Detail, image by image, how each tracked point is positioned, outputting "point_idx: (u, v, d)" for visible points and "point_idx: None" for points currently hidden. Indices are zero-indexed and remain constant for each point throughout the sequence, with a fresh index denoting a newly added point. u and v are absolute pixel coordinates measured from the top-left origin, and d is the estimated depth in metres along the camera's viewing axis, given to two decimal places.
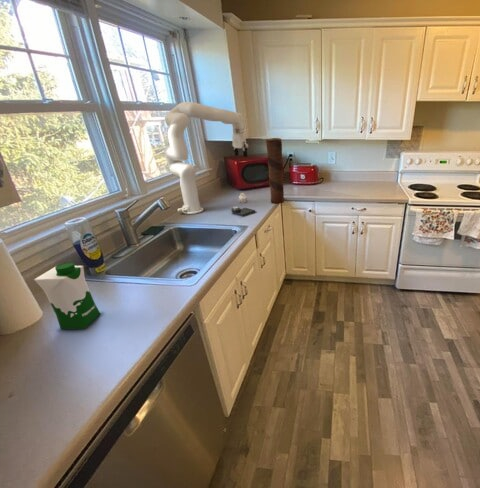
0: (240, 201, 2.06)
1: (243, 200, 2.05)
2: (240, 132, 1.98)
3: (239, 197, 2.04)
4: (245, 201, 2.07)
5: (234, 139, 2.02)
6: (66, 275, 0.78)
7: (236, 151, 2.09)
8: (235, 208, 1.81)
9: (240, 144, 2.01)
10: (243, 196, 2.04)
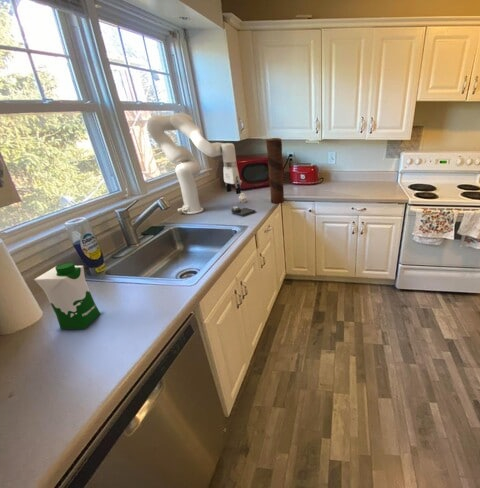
0: (240, 201, 2.06)
1: (243, 200, 2.05)
2: (232, 166, 1.69)
3: (239, 197, 2.04)
4: (245, 201, 2.07)
5: (225, 173, 1.72)
6: (66, 275, 0.78)
7: (228, 187, 1.79)
8: (235, 208, 1.81)
9: (232, 180, 1.71)
10: (243, 196, 2.04)
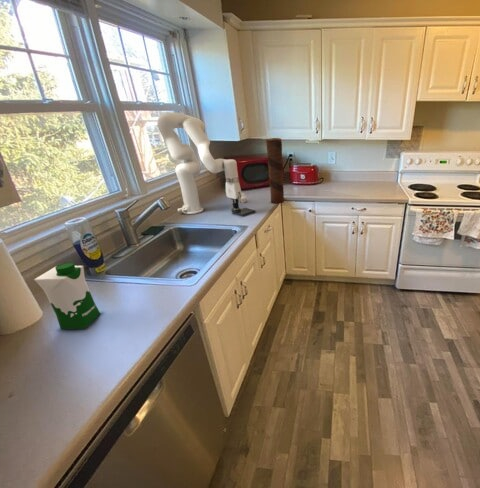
0: (240, 201, 2.06)
1: (243, 200, 2.05)
2: (234, 181, 1.73)
3: None
4: (245, 201, 2.07)
5: (227, 188, 1.76)
6: (66, 275, 0.78)
7: None
8: (235, 209, 1.82)
9: (234, 195, 1.75)
10: (243, 196, 2.04)
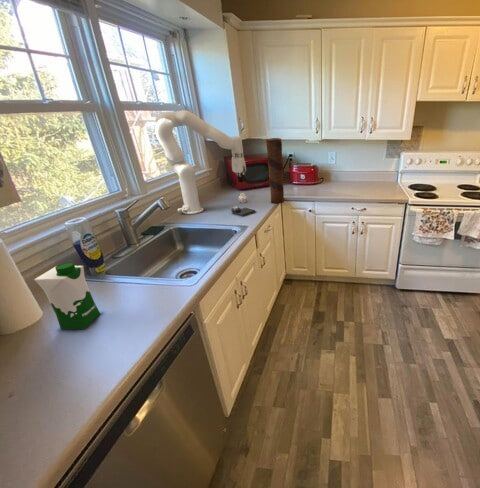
0: (240, 201, 2.06)
1: (243, 200, 2.05)
2: (239, 156, 1.91)
3: (239, 197, 2.04)
4: (245, 201, 2.07)
5: (233, 163, 1.95)
6: (66, 275, 0.78)
7: None
8: (235, 208, 1.81)
9: (240, 169, 1.93)
10: (243, 196, 2.04)
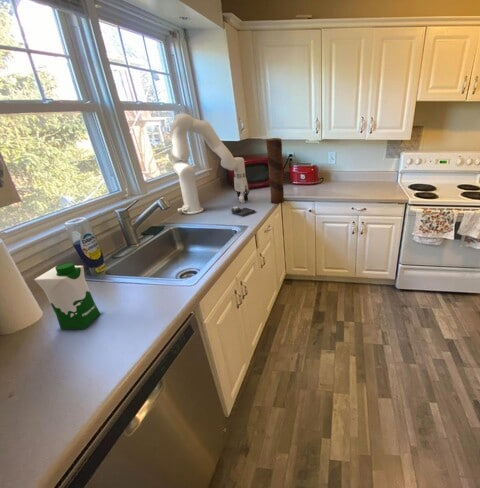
0: (240, 201, 2.06)
1: (243, 200, 2.05)
2: (242, 177, 1.97)
3: (239, 197, 2.04)
4: (245, 201, 2.07)
5: (236, 183, 2.01)
6: (66, 275, 0.78)
7: (239, 195, 2.07)
8: (235, 208, 1.81)
9: (242, 188, 1.99)
10: (243, 196, 2.04)
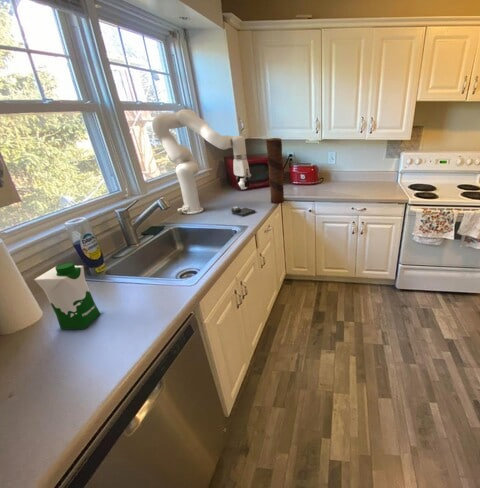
0: (240, 187, 1.80)
1: (244, 186, 1.79)
2: (242, 158, 1.71)
3: (239, 182, 1.78)
4: (246, 187, 1.81)
5: (235, 166, 1.75)
6: (66, 275, 0.78)
7: (239, 180, 1.81)
8: (235, 208, 1.81)
9: (242, 172, 1.73)
10: None
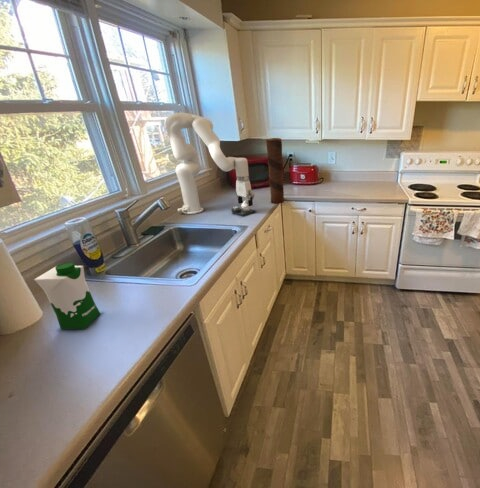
0: (243, 209, 1.83)
1: (246, 208, 1.82)
2: (245, 180, 1.74)
3: (242, 205, 1.82)
4: None
5: (238, 187, 1.77)
6: (66, 275, 0.78)
7: (240, 198, 1.84)
8: (235, 208, 1.81)
9: (245, 193, 1.76)
10: (246, 204, 1.82)
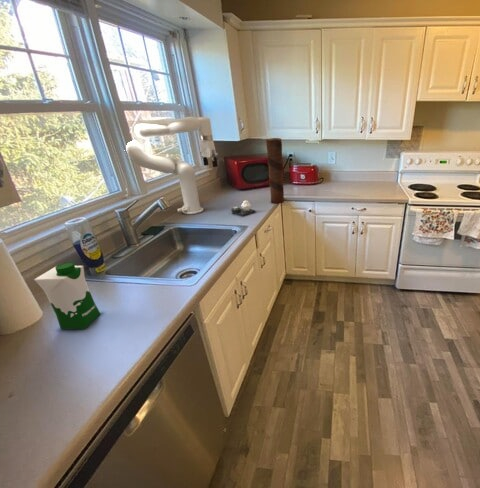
0: (243, 209, 1.84)
1: (246, 208, 1.82)
2: (208, 139, 1.75)
3: (242, 205, 1.82)
4: None
5: (202, 147, 1.78)
6: (66, 275, 0.78)
7: (205, 160, 1.85)
8: (235, 208, 1.81)
9: (208, 153, 1.77)
10: (246, 204, 1.82)
